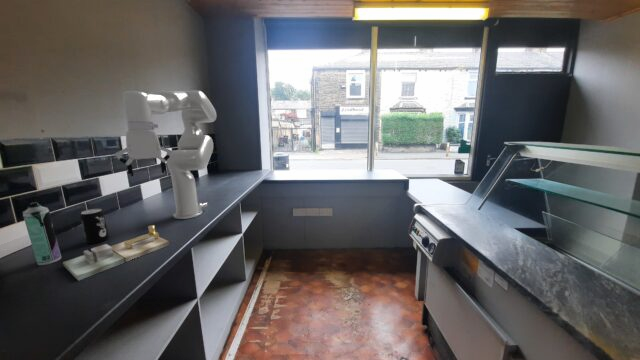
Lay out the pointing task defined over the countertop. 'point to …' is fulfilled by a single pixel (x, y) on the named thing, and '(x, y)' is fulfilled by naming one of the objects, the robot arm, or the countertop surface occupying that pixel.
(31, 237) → the spray can
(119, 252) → the latch board
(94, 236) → the beverage can
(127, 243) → the bolt
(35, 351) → the countertop surface
